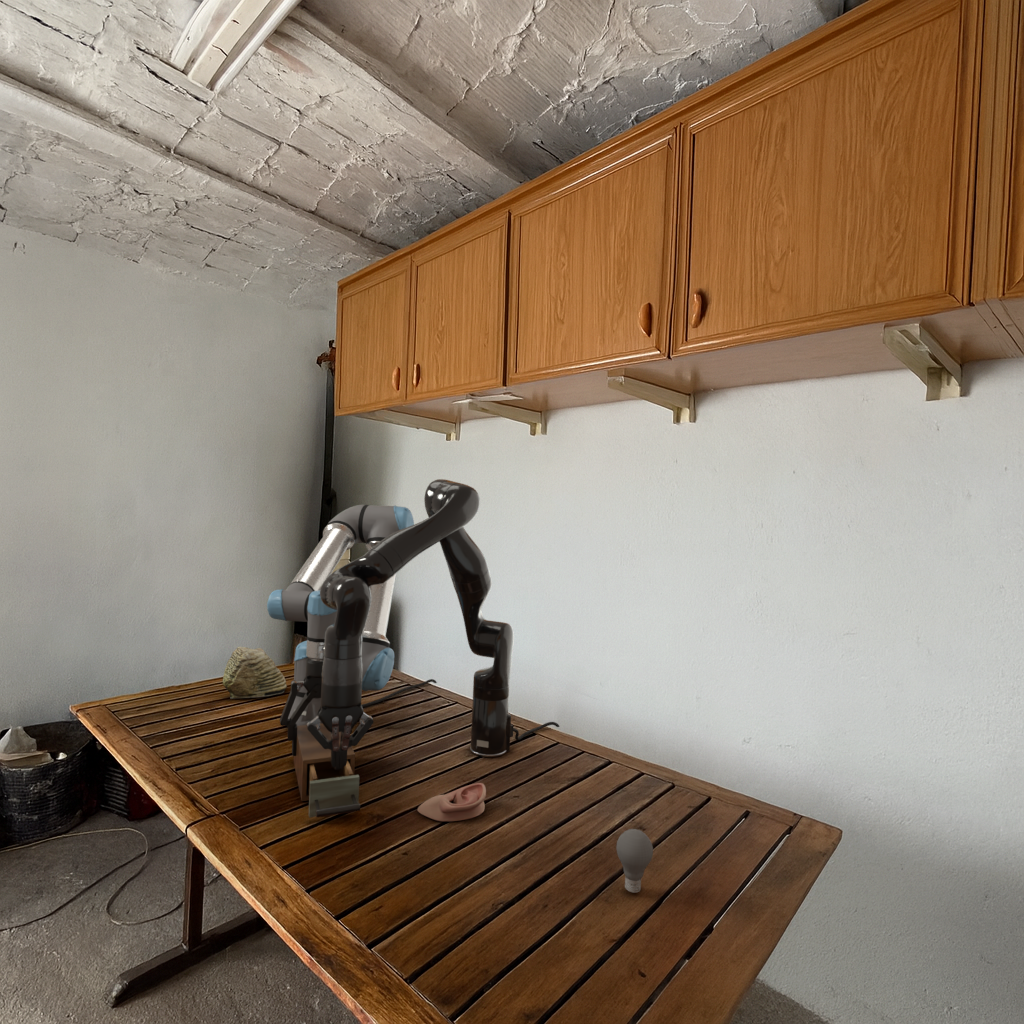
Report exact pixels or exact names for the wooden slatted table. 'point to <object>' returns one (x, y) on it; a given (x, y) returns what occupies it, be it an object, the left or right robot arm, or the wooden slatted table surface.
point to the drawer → (332, 789)
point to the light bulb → (634, 857)
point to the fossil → (252, 674)
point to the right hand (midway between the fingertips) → (338, 767)
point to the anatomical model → (456, 804)
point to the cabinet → (313, 756)
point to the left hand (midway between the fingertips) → (319, 750)
